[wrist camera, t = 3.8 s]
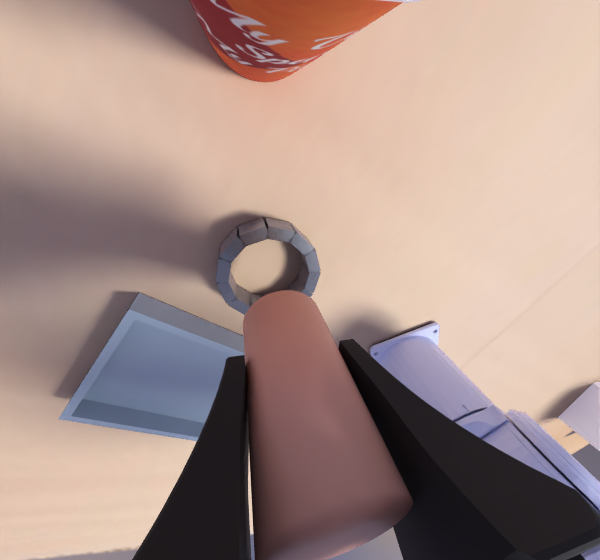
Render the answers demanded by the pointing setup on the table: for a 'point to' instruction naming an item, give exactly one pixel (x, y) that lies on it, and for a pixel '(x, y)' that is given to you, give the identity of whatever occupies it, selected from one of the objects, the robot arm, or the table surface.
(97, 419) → the tray
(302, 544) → the peg
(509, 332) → the table surface
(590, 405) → the milk
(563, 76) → the table surface
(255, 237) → the sleeve
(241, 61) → the paper cup
